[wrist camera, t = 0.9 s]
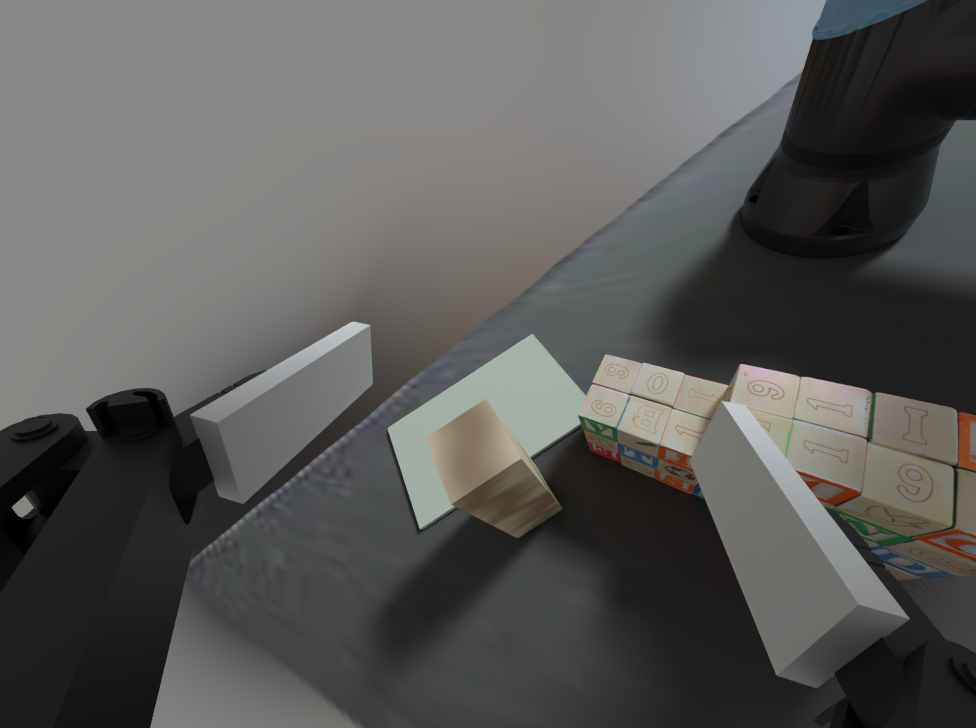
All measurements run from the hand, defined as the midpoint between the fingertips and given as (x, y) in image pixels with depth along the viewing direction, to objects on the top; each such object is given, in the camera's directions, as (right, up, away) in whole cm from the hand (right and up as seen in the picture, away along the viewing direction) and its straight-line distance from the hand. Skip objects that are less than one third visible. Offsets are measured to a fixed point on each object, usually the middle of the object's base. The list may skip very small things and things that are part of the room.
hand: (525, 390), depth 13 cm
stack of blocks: (+19, -8, +17) cm, 26 cm away
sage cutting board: (-2, -6, +27) cm, 28 cm away
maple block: (+2, -12, +21) cm, 24 cm away
